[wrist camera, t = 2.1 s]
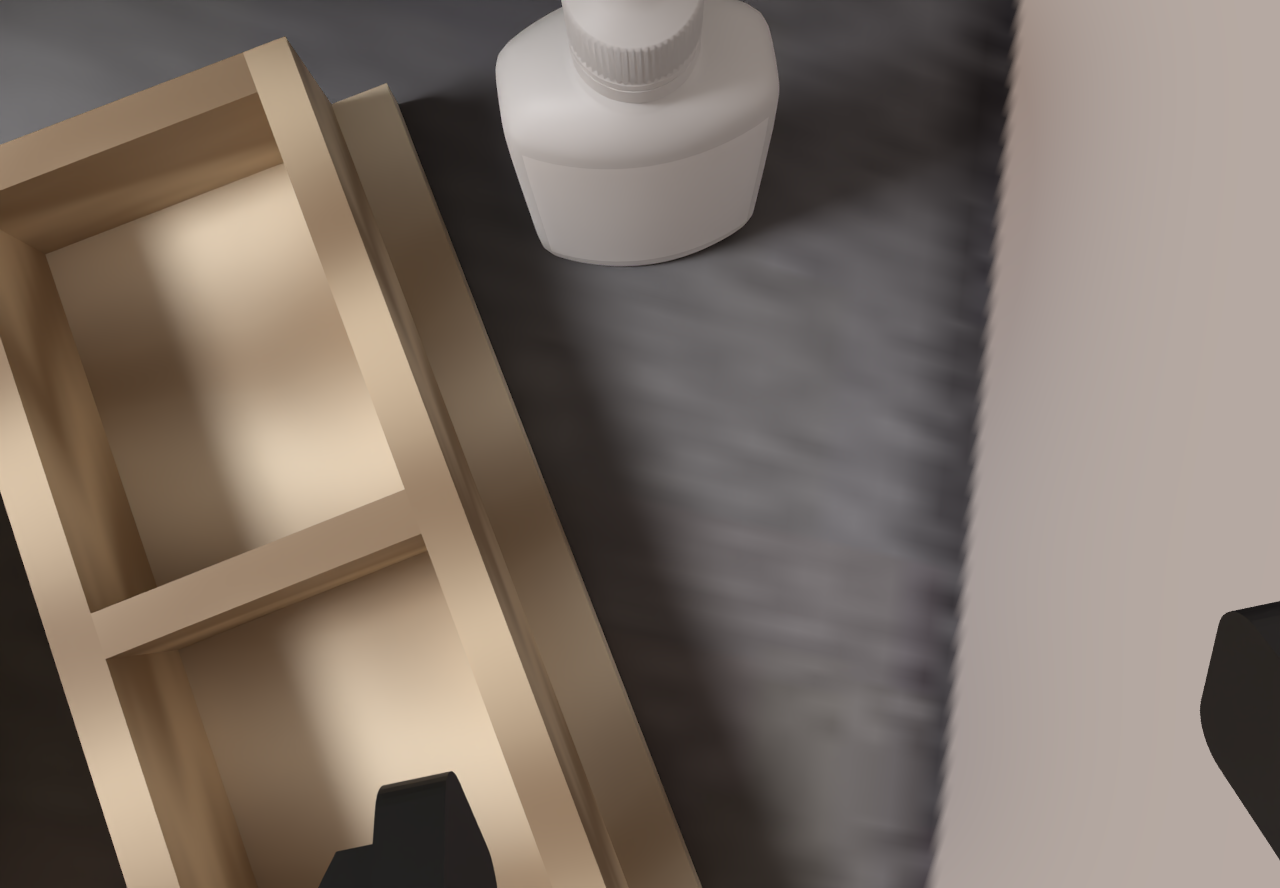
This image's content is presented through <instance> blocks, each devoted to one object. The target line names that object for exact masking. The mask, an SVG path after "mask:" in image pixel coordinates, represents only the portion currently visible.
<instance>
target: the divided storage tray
mask: <svg viewBox="0 0 1280 888" xmlns="http://www.w3.org/2000/svg"><path fill="white" fill-rule="evenodd" d="M0 492H1V495H2V498H3V501H4V504H5V508H6V511H7V514H8V517H9V520H10V523H11V526H12V529H13V532H14V536H15V539H16V542H17V545H18V548H19V551H20V554H21V557H22V561H23V564H24V567H25V570H26V573H27V576H28V579H29V582H30V586H31V589H32V592H33V595H34V598H35V601H36V604H37V607H38V611H39V614H40V617H41V620H42V623H43V626H44V629H45V632H46V636H47V639H48V642H49V645H50V648H51V651H52V654H53V657H54V660H55V664H56V667H57V670H58V673H59V676H60V679H61V682H62V685H63V689H64V692H65V695H66V698H67V701H68V704H69V707H70V710H71V714H72V717H73V720H74V723H75V726H76V729H77V732H78V735H79V739H80V742H81V745H82V748H83V751H84V754H85V757H86V760H87V764H88V767H89V770H90V773H91V776H92V779H93V782H94V785H95V788H96V792H97V795H98V798H99V801H100V804H101V807H102V810H103V813H104V817H105V820H106V823H107V826H108V829H109V832H110V835H111V838H112V842H113V845H114V848H115V851H116V854H117V857H118V860H119V863H120V867H121V870H122V873H123V876H124V879H125V882H126V885H127V888H318V887H319V885H320V883H321V881H322V879H323V877H324V875H325V873H326V871H327V869H328V867H329V865H330V863H331V861H332V859H333V857H334V855H335V853H336V852H337V851H341V850H346V849H351V848H356V847H360V846H365V845H370V844H372V843H373V829H374V816H375V804H376V798H377V794H378V791H379V789H380V787H381V786H383V785H387V784H392V783H397V782H401V781H406V780H411V779H416V778H420V777H425V776H430V775H435V774H440V773H444V772H449V771H453V772H454V773H455V774H456V776H457V778H458V780H459V782H460V784H461V786H462V789H463V791H464V793H465V796H466V798H467V800H468V803H469V805H470V807H471V810H472V812H473V814H474V817H475V819H476V821H477V824H478V826H479V828H480V831H481V833H482V835H483V838H484V840H485V842H486V845H487V847H488V849H489V852H490V855H491V858H492V862H493V866H494V871H495V876H496V882H497V888H702V886H701V883H700V881H699V878H698V876H697V873H696V870H695V868H694V865H693V863H692V860H691V857H690V855H689V852H688V850H687V847H686V845H685V842H684V839H683V837H682V834H681V832H680V829H679V827H678V824H677V821H676V819H675V816H674V814H673V811H672V809H671V806H670V803H669V801H668V798H667V796H666V793H665V791H664V788H663V785H662V783H661V780H660V778H659V775H658V773H657V770H656V767H655V765H654V762H653V760H652V757H651V754H650V752H649V749H648V747H647V744H646V742H645V739H644V736H643V734H642V731H641V729H640V726H639V724H638V721H637V718H636V716H635V713H634V711H633V708H632V706H631V703H630V700H629V698H628V695H627V693H626V690H625V688H624V685H623V682H622V680H621V677H620V675H619V672H618V669H617V667H616V664H615V662H614V659H613V657H612V654H611V651H610V649H609V646H608V644H607V641H606V639H605V636H604V633H603V631H602V628H601V626H600V623H599V621H598V618H597V615H596V613H595V610H594V608H593V605H592V603H591V600H590V597H589V595H588V592H587V590H586V587H585V585H584V582H583V579H582V577H581V574H580V572H579V569H578V566H577V564H576V561H575V559H574V556H573V554H572V551H571V548H570V546H569V543H568V541H567V538H566V536H565V533H564V530H563V528H562V525H561V523H560V520H559V518H558V515H557V512H556V510H555V507H554V505H553V502H552V500H551V497H550V494H549V492H548V489H547V487H546V484H545V482H544V479H543V476H542V474H541V471H540V469H539V466H538V463H537V461H536V458H535V456H534V453H533V451H532V448H531V445H530V443H529V440H528V438H527V435H526V433H525V430H524V427H523V425H522V422H521V420H520V417H519V415H518V412H517V409H516V407H515V404H514V402H513V399H512V397H511V394H510V391H509V389H508V386H507V384H506V381H505V379H504V376H503V373H502V371H501V368H500V366H499V363H498V360H497V358H496V355H495V353H494V350H493V348H492V345H491V342H490V340H489V337H488V335H487V332H486V330H485V327H484V324H483V322H482V319H481V317H480V314H479V312H478V309H477V306H476V304H475V301H474V299H473V296H472V294H471V291H470V288H469V286H468V283H467V281H466V278H465V276H464V273H463V270H462V268H461V265H460V263H459V260H458V257H457V255H456V252H455V250H454V247H453V245H452V242H451V239H450V237H449V234H448V232H447V229H446V227H445V224H444V221H443V219H442V216H441V214H440V211H439V209H438V206H437V203H436V201H435V198H434V196H433V193H432V191H431V188H430V185H429V183H428V180H427V178H426V175H425V172H424V170H423V167H422V165H421V162H420V160H419V157H418V154H417V152H416V149H415V147H414V144H413V142H412V139H411V136H410V134H409V131H408V129H407V126H406V124H405V121H404V118H403V116H402V113H401V111H400V108H399V106H398V103H397V101H396V99H395V98H394V96H393V94H392V92H391V90H390V88H389V87H388V85H387V83H386V84H383V85H381V86H378V87H375V88H373V89H370V90H367V91H365V92H362V93H360V94H357V95H354V96H352V97H349V98H347V99H344V100H341V101H339V102H336V103H334V104H331V103H330V102H329V100H328V99H327V97H326V96H325V94H324V93H323V91H322V90H321V88H320V87H319V85H318V84H317V82H316V81H315V80H314V78H313V77H312V75H311V74H310V72H309V71H308V69H307V68H306V66H305V65H304V63H303V62H302V60H301V59H300V57H299V56H298V55H297V53H296V52H295V50H294V49H293V47H292V46H291V44H290V43H289V41H288V40H287V38H286V37H282V38H279V39H277V40H274V41H271V42H269V43H266V44H264V45H261V46H258V47H256V48H253V49H250V50H248V51H245V52H243V53H240V54H237V55H235V56H232V57H229V58H227V59H224V60H222V61H219V62H216V63H214V64H211V65H208V66H206V67H203V68H201V69H198V70H195V71H193V72H190V73H188V74H185V75H182V76H180V77H177V78H174V79H172V80H169V81H167V82H164V83H161V84H159V85H156V86H153V87H151V88H148V89H146V90H143V91H140V92H138V93H135V94H132V95H130V96H127V97H125V98H122V99H119V100H117V101H114V102H111V103H109V104H106V105H104V106H101V107H98V108H96V109H93V110H90V111H88V112H85V113H83V114H80V115H77V116H75V117H72V118H69V119H67V120H64V121H62V122H59V123H56V124H54V125H51V126H49V127H46V128H43V129H41V130H38V131H35V132H33V133H30V134H28V135H25V136H22V137H20V138H17V139H14V140H12V141H9V142H7V143H4V144H1V145H0Z"/></svg>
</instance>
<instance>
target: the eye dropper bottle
mask: <svg viewBox="0 0 1280 888" xmlns="http://www.w3.org/2000/svg"><path fill="white" fill-rule="evenodd" d="M561 2H562V7H561V8H559V9H557V10H555V11H553V12H551V13H549V14H548V15H546V16H544V17H543V18H541V19H539V20H538V21H536V22H534V23H533V24H531V25H530V26H528V27H527V28H525V29H524V30H522V31H521V32H520V33H519V34H517V35H516V36H515V37H514V38H512V39H511V40H510V41H509V42H508V43H507V44H506V45H505V47H504V48H503V49H502V50H501V52H500V53H499V55H498V58H497V63H496V68H495V72H496V85H497V92H498V100H499V107H500V113H501V120H502V125H503V130H504V135H505V139H506V142H507V146H508V149H509V152H510V156H511V159H512V162H513V165H514V168H515V171H516V174H517V177H518V180H519V183H520V186H521V189H522V192H523V194H524V197H525V200H526V203H527V206H528V209H529V212H530V215H531V218H532V220H533V223H534V226H535V229H536V232H537V235H538V237H539V239H540V241H541V243H542V245H543V247H544V248H545V249H546V250H548V251H549V252H551V253H552V254H554V255H556V256H558V257H561V258H565V259H568V260H572V261H577V262H582V263H588V264H594V265H604V266H640V265H648V264H655V263H661V262H666V261H670V260H674V259H677V258H681V257H684V256H687V255H690V254H692V253H695V252H698V251H700V250H702V249H705V248H707V247H709V246H711V245H713V244H715V243H717V242H719V241H721V240H723V239H725V238H726V237H728V236H730V235H732V234H733V233H734V232H736V231H737V230H739V229H740V228H742V227H743V226H744V225H745V224H746V223H747V221H748V220H749V219H750V217H751V216H752V214H753V211H754V207H755V203H756V199H757V195H758V191H759V187H760V183H761V178H762V174H763V170H764V166H765V162H766V157H767V153H768V149H769V144H770V140H771V136H772V131H773V126H774V121H775V115H776V110H777V104H778V98H779V78H778V69H777V63H776V57H775V52H774V47H773V41H772V37H771V33H770V29H769V26H768V24H767V22H766V21H765V19H764V17H763V16H762V14H761V12H759V11H758V10H756V9H755V8H753V7H752V6H750V5H749V4H747V3H744V2H742V1H739V0H561Z"/></svg>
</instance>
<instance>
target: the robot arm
mask: <svg viewBox="0 0 1280 888" xmlns="http://www.w3.org/2000/svg"><path fill="white" fill-rule="evenodd" d="M1200 716H1201V724H1202V729H1203V732H1204V736H1205V739H1206V742H1207V745H1208V747H1209V749H1210V752H1211V754H1212V756H1213V758H1214V760H1215V762H1216V763H1217V765H1218V767H1219V768H1220V770H1221V771H1222V772H1223V774H1224V776H1225V777H1226V779H1227V780H1228V782H1229V783H1230V785H1231V786H1232V788H1233V789H1234V791H1235V792H1236V794H1237V796H1238V797H1239V799H1240V800H1241V801H1242V803H1243V805H1244V806H1245V808H1246V809H1247V811H1248V812H1249V814H1250V815H1251V817H1252V818H1253V820H1254V821H1255V823H1256V824H1257V826H1258V827H1259V829H1260V830H1261V832H1262V833H1263V835H1264V837H1265V838H1266V840H1267V841H1268V843H1269V844H1270V846H1271V847H1272V849H1273V850H1274V852H1275V853H1276V855H1277V856H1278V858H1279V859H1280V601H1279V602H1274V603H1269V604H1264V605H1259V606H1255V607H1250V608H1245V609H1241V610H1236V611H1231V612H1228V613H1226V614H1225V615H1223V616H1222V618H1221V620H1220V623H1219V626H1218V630H1217V634H1216V639H1215V643H1214V647H1213V652H1212V656H1211V660H1210V665H1209V669H1208V674H1207V678H1206V683H1205V686H1204V691H1203V695H1202V699H1201V705H1200ZM318 888H497V882H496V876H495V871H494V866H493V862H492V858H491V855H490V852H489V849H488V847H487V845H486V842H485V840H484V838H483V835H482V833H481V831H480V828H479V826H478V824H477V821H476V819H475V817H474V814H473V812H472V810H471V807H470V805H469V803H468V800H467V798H466V796H465V793H464V791H463V789H462V786H461V784H460V782H459V780H458V778H457V776H456V774H455V773H454V772H453V771H449V772H444V773H440V774H435V775H430V776H425V777H420V778H416V779H411V780H406V781H401V782H397V783H392V784H387V785H383V786H381V787H380V789H379V791H378V794H377V798H376V804H375V816H374V829H373V843H372V844H370V845H365V846H360V847H356V848H351V849H346V850H341V851H337V852H336V853H335V855H334V857H333V859H332V861H331V863H330V865H329V867H328V869H327V871H326V873H325V875H324V877H323V879H322V881H321V883H320V885H319V887H318Z"/></svg>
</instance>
